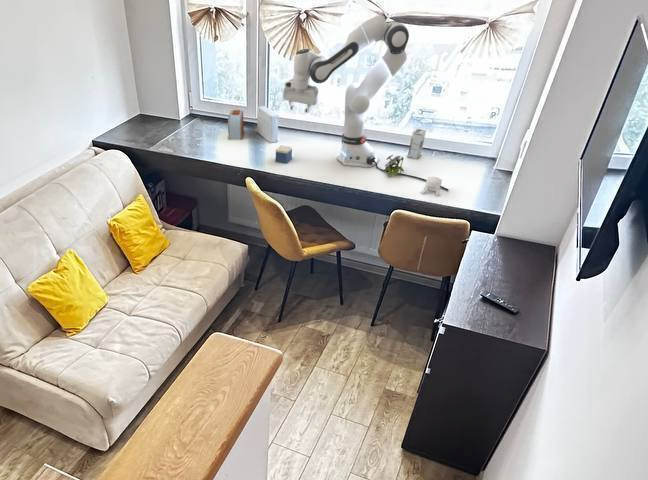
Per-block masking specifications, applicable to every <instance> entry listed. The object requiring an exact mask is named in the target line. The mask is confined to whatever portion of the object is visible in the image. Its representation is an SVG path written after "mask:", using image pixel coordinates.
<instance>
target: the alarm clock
mask: <svg viewBox="0 0 648 480" xmlns="http://www.w3.org/2000/svg"><path fill="white" fill-rule="evenodd" d="M244 125H245V124H244V111H243V110H241V109H233V110H230V112H229V115H228V118H227V134H228V140H242V138H243V136H244V133H245V131H244V130H245V129H244V127H245V126H244Z"/></svg>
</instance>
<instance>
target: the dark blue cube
mask: <svg viewBox="0 0 648 480" xmlns="http://www.w3.org/2000/svg"><path fill="white" fill-rule="evenodd" d="M292 157H293V146H290V145H283V144H281V145H279V146H278V147H277V148H275V163H276V162H277V163H282V164H287V163H289V162H290V161H291V160H292V159H293V158H292Z"/></svg>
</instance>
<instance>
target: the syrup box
mask: <svg viewBox="0 0 648 480" xmlns="http://www.w3.org/2000/svg"><path fill="white" fill-rule="evenodd" d="M426 132H427V130H425V129H422V128H416V129H415V130H413V131H412V133H411V139H410V144H409V147H408V148H409V149H408V154H407V157H408V158H411V159H416V160H417V159H418V158H419V157H420V156H421V155H422V150H423V147H424V141H425V138H426V137H425V136H426V134H427V133H426Z"/></svg>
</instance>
